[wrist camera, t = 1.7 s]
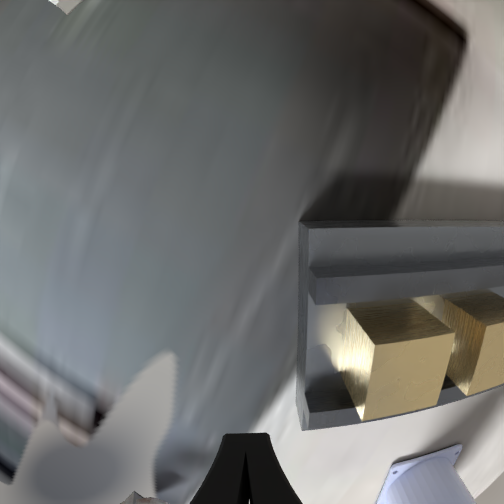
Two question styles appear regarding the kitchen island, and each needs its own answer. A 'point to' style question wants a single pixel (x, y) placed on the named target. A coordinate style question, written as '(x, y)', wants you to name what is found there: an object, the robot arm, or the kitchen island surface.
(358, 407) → the wooden cube
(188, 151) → the kitchen island surface
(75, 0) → the skyscraper
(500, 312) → the chip
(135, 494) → the wrench
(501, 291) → the slot block
